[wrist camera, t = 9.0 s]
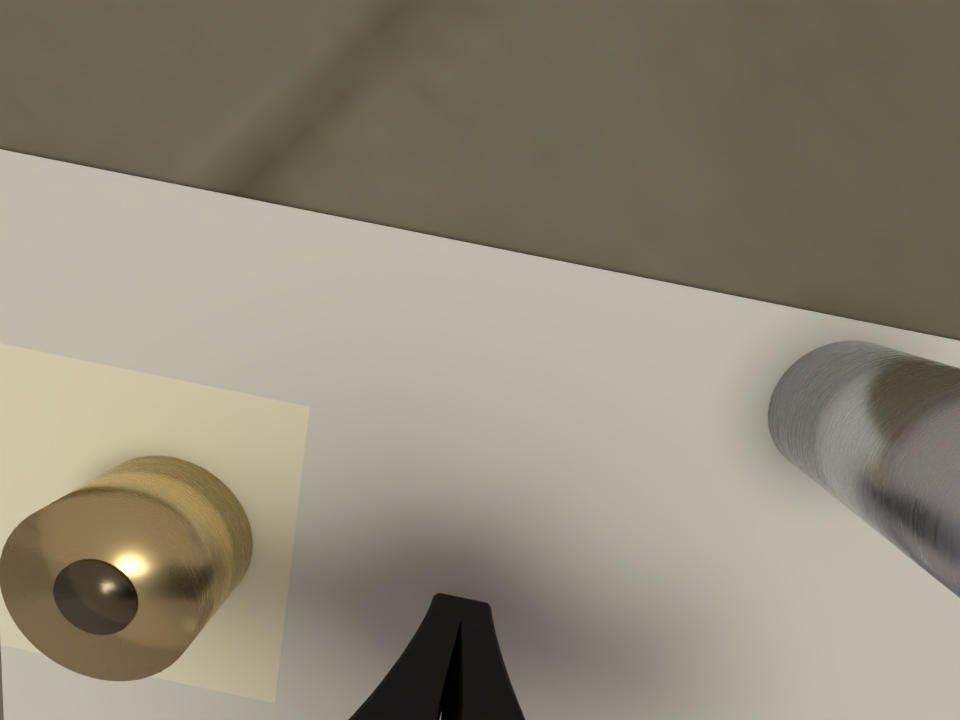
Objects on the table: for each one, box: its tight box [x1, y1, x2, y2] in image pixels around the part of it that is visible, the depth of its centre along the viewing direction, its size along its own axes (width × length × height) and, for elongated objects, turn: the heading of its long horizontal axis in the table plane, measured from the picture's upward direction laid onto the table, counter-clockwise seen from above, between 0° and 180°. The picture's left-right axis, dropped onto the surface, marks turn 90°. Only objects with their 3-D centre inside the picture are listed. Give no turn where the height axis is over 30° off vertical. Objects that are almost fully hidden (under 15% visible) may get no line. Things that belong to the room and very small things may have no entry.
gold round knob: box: [0, 456, 253, 681], centre depth 12 cm, size 4×4×2 cm
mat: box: [0, 149, 960, 720], centre depth 14 cm, size 20×28×1 cm
